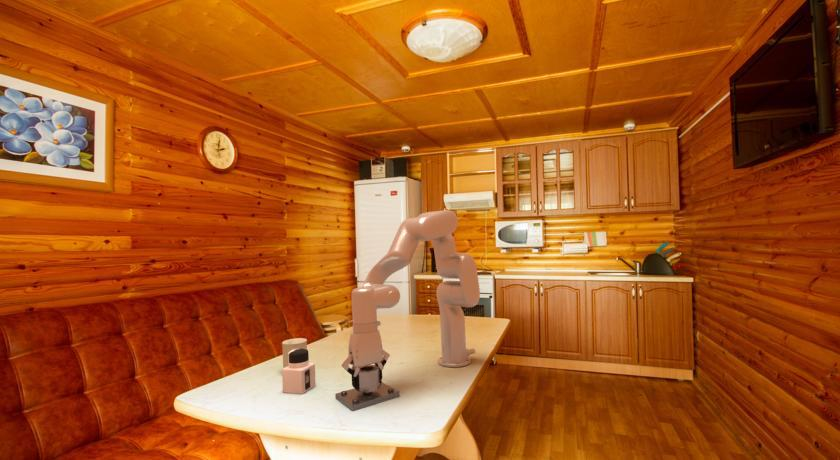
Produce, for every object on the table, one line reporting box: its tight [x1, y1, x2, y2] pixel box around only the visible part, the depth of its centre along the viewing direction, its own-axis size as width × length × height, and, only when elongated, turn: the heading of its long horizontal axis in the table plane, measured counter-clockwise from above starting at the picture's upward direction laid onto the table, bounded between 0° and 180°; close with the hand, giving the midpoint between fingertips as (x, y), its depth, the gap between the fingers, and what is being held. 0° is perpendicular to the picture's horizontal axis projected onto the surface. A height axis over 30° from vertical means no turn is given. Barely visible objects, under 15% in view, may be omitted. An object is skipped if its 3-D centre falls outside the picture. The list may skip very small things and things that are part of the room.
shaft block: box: [334, 381, 401, 412], centre depth 120 cm, size 16×12×7 cm
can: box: [281, 337, 308, 369], centre depth 149 cm, size 9×9×12 cm
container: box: [281, 348, 317, 395], centre depth 130 cm, size 8×8×13 cm
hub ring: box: [355, 364, 380, 393], centre depth 120 cm, size 7×7×6 cm
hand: (367, 384), depth 120 cm, fingers closed on hub ring, 7 cm apart
